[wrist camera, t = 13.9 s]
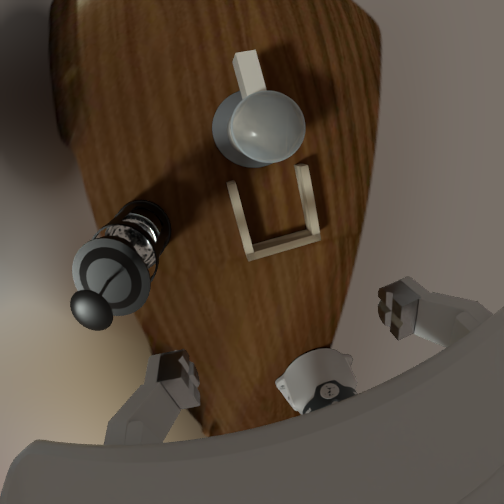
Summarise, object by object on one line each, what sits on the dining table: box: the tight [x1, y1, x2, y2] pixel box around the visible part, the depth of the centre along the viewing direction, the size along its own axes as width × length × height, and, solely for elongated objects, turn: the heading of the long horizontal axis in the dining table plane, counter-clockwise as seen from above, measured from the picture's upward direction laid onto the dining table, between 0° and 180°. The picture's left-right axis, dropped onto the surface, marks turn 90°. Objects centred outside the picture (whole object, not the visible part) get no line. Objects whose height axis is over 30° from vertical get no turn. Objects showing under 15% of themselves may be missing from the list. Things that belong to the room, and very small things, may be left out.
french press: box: [70, 200, 171, 331], centre depth 30 cm, size 12×9×23 cm
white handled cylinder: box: [227, 50, 305, 163], centre depth 32 cm, size 14×8×10 cm, turn 13°
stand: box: [226, 163, 321, 261], centre depth 42 cm, size 12×12×3 cm
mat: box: [212, 91, 272, 168], centre depth 37 cm, size 12×12×1 cm
